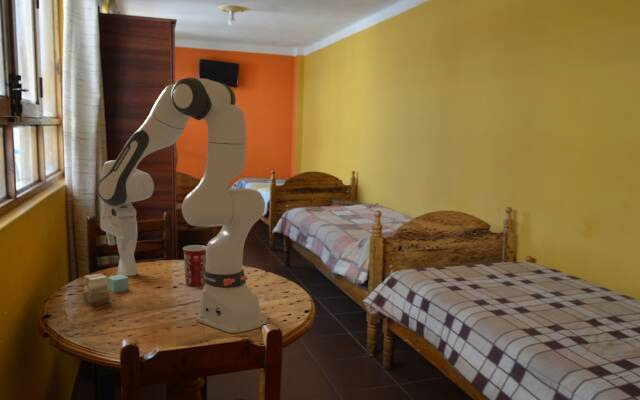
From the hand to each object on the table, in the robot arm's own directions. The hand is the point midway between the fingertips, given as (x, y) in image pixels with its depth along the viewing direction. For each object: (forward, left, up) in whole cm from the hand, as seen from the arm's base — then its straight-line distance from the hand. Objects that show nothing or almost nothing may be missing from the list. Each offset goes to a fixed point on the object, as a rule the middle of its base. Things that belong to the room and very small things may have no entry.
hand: (117, 247), depth 170 cm
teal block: (0, 0, -15) cm, 15 cm away
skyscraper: (+16, -10, -15) cm, 24 cm away
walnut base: (-7, +10, -15) cm, 19 cm away
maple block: (-7, +10, -12) cm, 17 cm away
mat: (-7, +10, -15) cm, 20 cm away
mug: (-10, -24, -15) cm, 30 cm away
